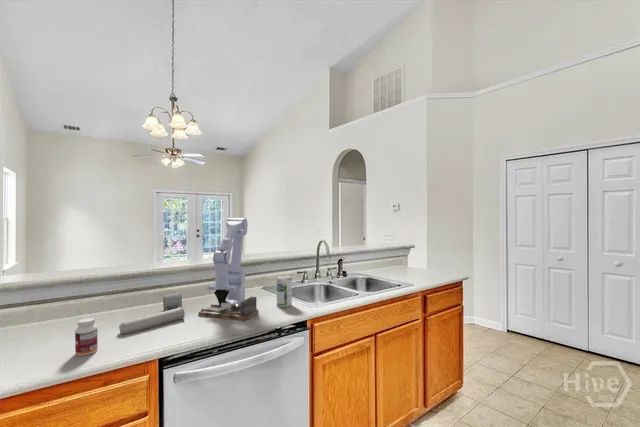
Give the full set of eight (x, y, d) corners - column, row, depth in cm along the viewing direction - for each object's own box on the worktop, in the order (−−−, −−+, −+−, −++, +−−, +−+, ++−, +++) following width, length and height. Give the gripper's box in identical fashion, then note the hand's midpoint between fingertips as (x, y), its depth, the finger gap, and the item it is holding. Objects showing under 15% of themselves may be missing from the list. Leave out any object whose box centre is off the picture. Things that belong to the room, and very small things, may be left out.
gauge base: (198, 315, 151) (198, 299, 151) (214, 308, 162) (214, 292, 162) (245, 320, 144) (245, 303, 144) (258, 312, 155) (258, 296, 155)
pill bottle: (77, 350, 114) (76, 318, 113) (98, 347, 116) (98, 315, 116) (73, 357, 108) (73, 324, 108) (96, 354, 111) (96, 321, 111)
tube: (122, 327, 126) (185, 310, 145) (117, 319, 129) (179, 304, 148) (121, 339, 127) (183, 321, 146) (116, 331, 130) (177, 315, 150)
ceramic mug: (163, 308, 163) (163, 292, 162) (182, 306, 166) (181, 290, 165) (162, 314, 153) (162, 298, 153) (182, 312, 156) (181, 296, 156)
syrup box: (276, 306, 165) (276, 277, 165) (282, 303, 170) (282, 275, 170) (285, 307, 163) (285, 278, 162) (292, 304, 168) (292, 276, 168)
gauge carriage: (217, 313, 148) (217, 304, 148) (228, 307, 157) (228, 299, 157) (232, 315, 146) (232, 306, 146) (243, 309, 154) (243, 300, 154)
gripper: (203, 277, 152) (203, 307, 153) (230, 279, 148) (230, 309, 148) (212, 274, 159) (212, 302, 159) (239, 276, 155) (239, 305, 155)
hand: (221, 306), depth 154 cm, fingers closed
